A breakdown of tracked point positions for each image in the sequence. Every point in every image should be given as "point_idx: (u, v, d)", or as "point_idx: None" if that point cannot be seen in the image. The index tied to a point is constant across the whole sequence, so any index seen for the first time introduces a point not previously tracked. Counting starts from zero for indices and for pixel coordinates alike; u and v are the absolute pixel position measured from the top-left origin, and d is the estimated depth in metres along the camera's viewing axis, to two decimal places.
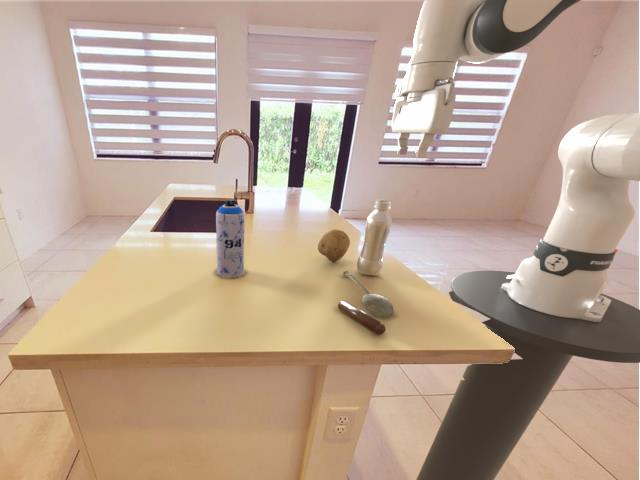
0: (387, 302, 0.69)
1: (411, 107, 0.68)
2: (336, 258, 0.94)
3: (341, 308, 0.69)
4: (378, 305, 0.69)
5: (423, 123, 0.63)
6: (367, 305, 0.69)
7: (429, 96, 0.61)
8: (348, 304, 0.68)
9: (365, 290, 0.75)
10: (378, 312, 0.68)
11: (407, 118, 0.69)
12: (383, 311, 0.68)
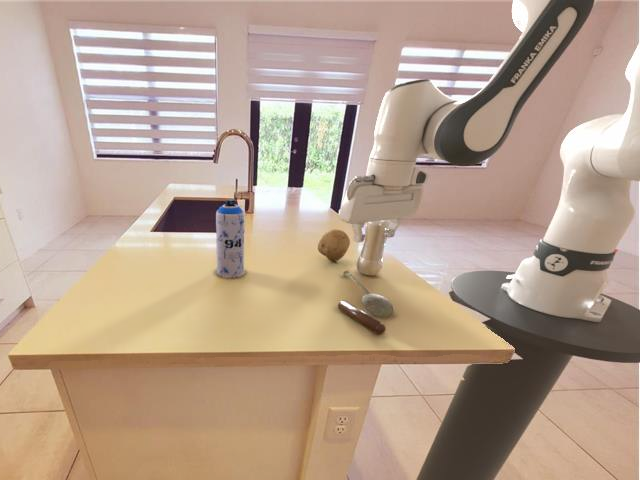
0: (387, 302, 0.69)
1: None
2: (336, 258, 0.94)
3: (341, 308, 0.69)
4: (378, 305, 0.69)
5: None
6: (367, 305, 0.69)
7: None
8: (348, 304, 0.68)
9: (365, 290, 0.75)
10: (378, 312, 0.68)
11: None
12: (383, 311, 0.68)
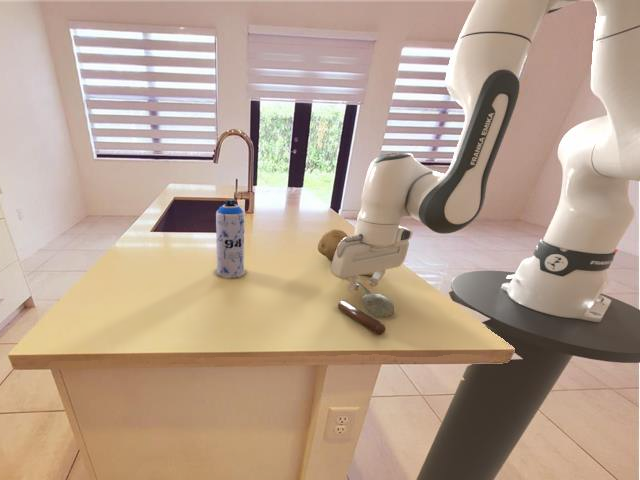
0: (388, 301, 0.69)
1: None
2: None
3: (341, 308, 0.69)
4: (379, 304, 0.69)
5: None
6: (367, 305, 0.69)
7: None
8: (348, 304, 0.68)
9: (366, 290, 0.75)
10: (379, 312, 0.68)
11: None
12: (383, 311, 0.68)
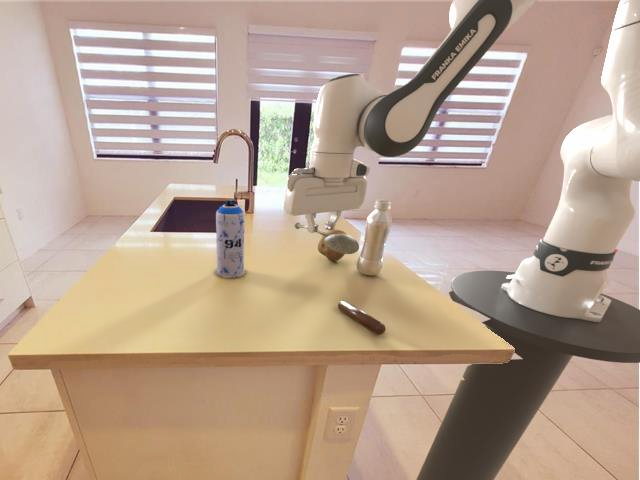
0: (350, 238, 0.66)
1: None
2: (336, 258, 0.94)
3: (341, 308, 0.69)
4: (343, 242, 0.65)
5: None
6: (332, 246, 0.65)
7: None
8: (348, 304, 0.68)
9: (324, 233, 0.71)
10: (345, 250, 0.64)
11: None
12: (349, 248, 0.64)
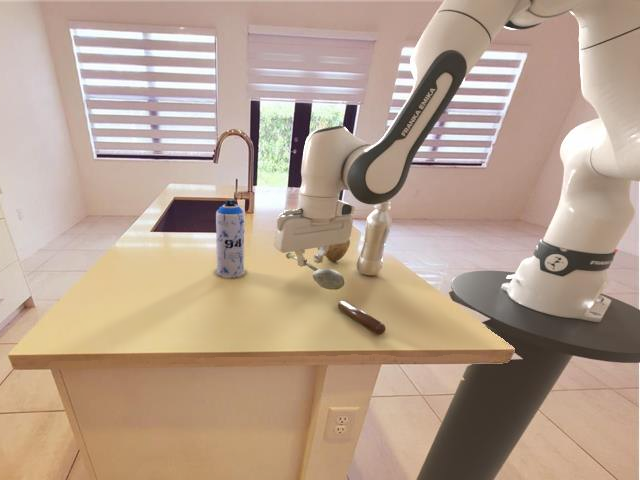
0: (336, 274, 0.71)
1: None
2: (336, 258, 0.94)
3: (341, 308, 0.69)
4: (330, 278, 0.69)
5: None
6: (319, 281, 0.70)
7: None
8: (348, 304, 0.68)
9: (312, 267, 0.76)
10: (331, 285, 0.69)
11: None
12: (335, 284, 0.69)
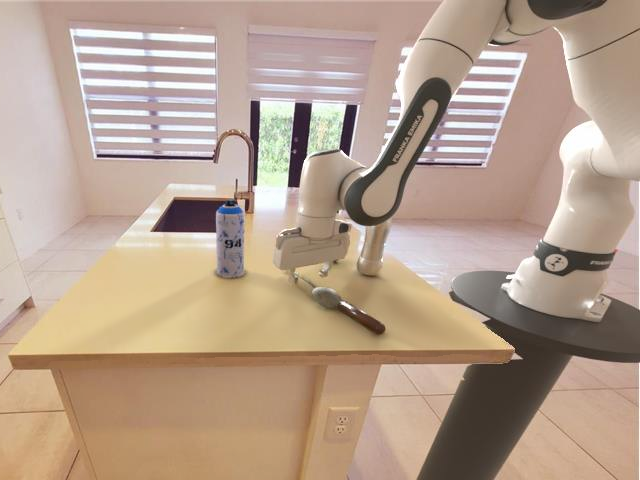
0: (335, 293, 0.73)
1: None
2: None
3: (341, 308, 0.69)
4: (328, 297, 0.72)
5: None
6: (318, 299, 0.72)
7: None
8: (348, 304, 0.68)
9: (312, 284, 0.78)
10: (329, 304, 0.71)
11: None
12: (333, 303, 0.71)
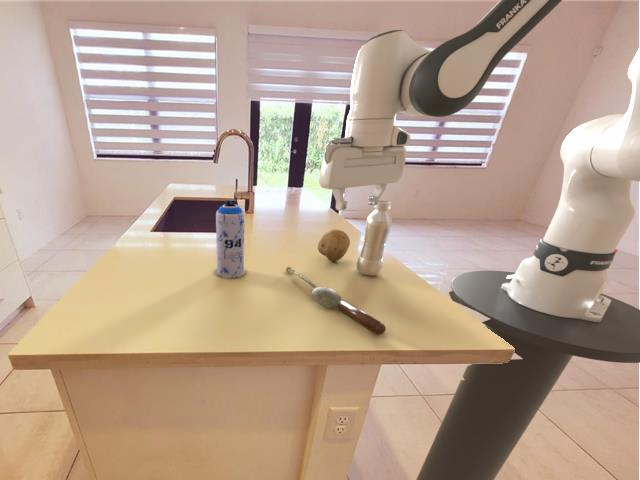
0: (335, 293, 0.73)
1: None
2: (336, 258, 0.94)
3: (341, 308, 0.69)
4: (328, 297, 0.72)
5: None
6: (318, 299, 0.72)
7: None
8: (348, 304, 0.68)
9: (312, 284, 0.78)
10: (329, 304, 0.71)
11: None
12: (333, 303, 0.71)
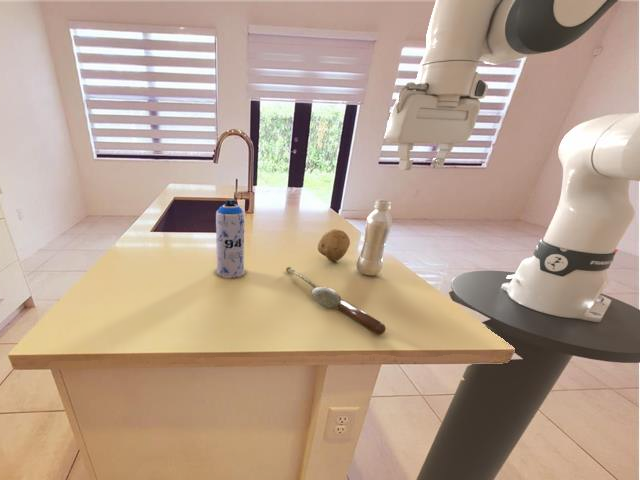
0: (335, 293, 0.73)
1: None
2: (336, 258, 0.94)
3: (341, 308, 0.69)
4: (328, 297, 0.72)
5: None
6: (318, 299, 0.72)
7: None
8: (348, 304, 0.68)
9: (312, 284, 0.78)
10: (329, 304, 0.71)
11: None
12: (333, 303, 0.71)
